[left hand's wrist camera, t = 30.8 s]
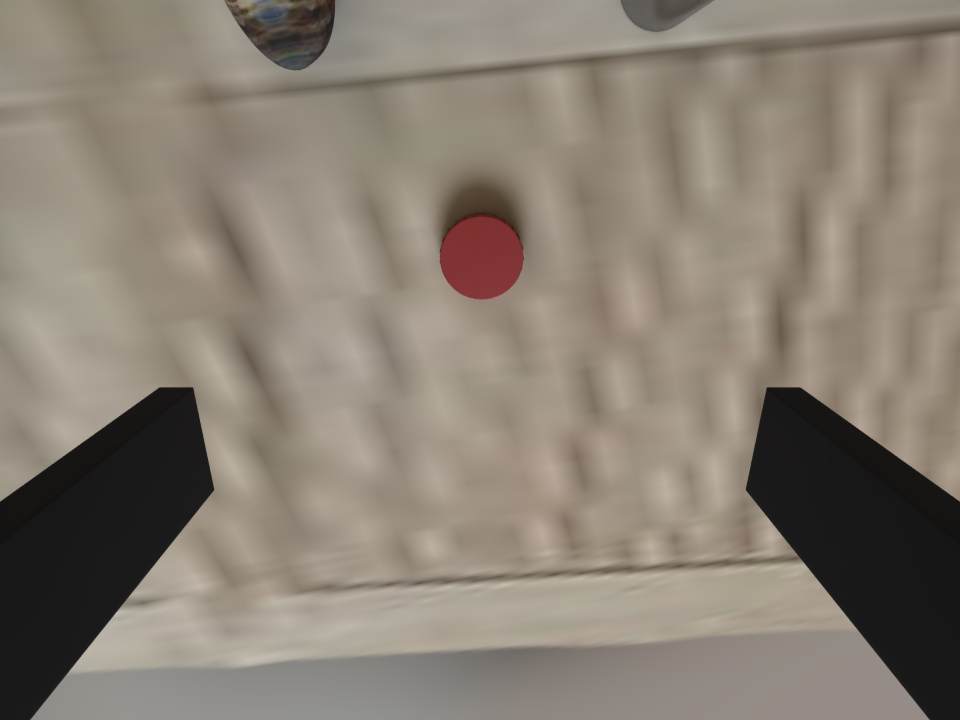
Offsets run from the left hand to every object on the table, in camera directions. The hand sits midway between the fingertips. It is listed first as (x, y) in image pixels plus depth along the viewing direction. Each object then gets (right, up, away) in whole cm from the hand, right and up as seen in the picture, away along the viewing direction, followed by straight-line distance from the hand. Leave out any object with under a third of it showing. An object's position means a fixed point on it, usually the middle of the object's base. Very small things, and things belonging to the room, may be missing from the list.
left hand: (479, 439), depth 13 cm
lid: (0, +9, +23) cm, 25 cm away
